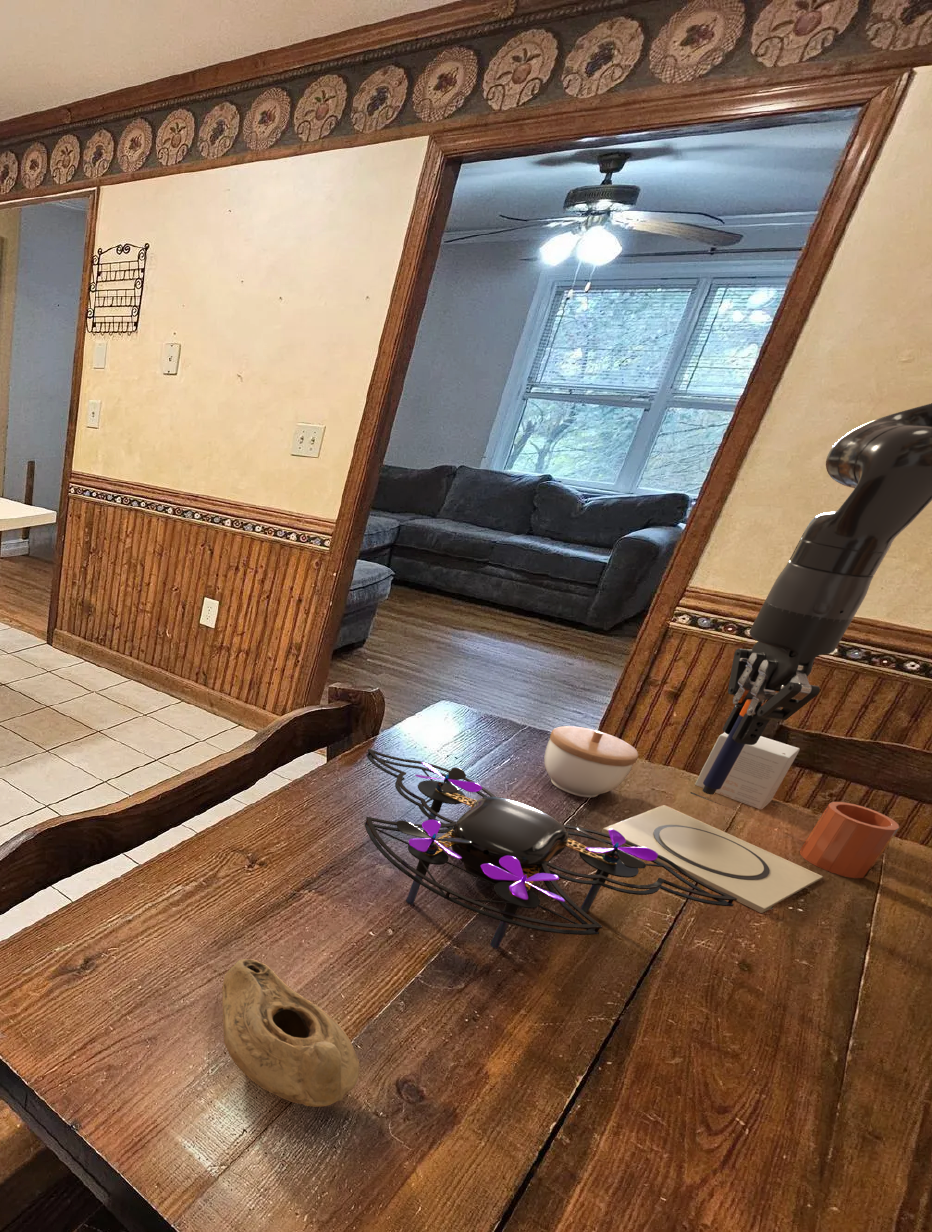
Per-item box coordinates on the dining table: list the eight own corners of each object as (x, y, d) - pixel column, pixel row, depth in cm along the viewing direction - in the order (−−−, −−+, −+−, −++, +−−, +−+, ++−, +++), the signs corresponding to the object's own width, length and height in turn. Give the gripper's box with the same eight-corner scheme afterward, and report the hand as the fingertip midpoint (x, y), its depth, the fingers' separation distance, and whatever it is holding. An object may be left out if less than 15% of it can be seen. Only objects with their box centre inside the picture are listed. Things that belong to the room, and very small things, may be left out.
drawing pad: (661, 809, 115) (664, 803, 114) (820, 881, 101) (824, 875, 100) (600, 832, 108) (603, 826, 108) (761, 913, 94) (765, 907, 93)
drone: (750, 873, 84) (698, 995, 67) (709, 942, 89) (649, 1073, 72) (382, 731, 111) (278, 793, 94) (364, 789, 115) (261, 858, 98)
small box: (766, 810, 116) (802, 748, 112) (754, 821, 113) (791, 757, 109) (700, 785, 122) (732, 725, 117) (687, 795, 119) (719, 734, 114)
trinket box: (581, 769, 125) (605, 717, 120) (635, 806, 115) (663, 751, 111) (517, 768, 124) (539, 715, 120) (566, 805, 114) (591, 749, 110)
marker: (703, 787, 103) (751, 697, 97) (720, 794, 101) (770, 704, 95) (695, 790, 102) (744, 700, 96) (712, 797, 100) (763, 706, 95)
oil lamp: (260, 983, 79) (277, 921, 75) (380, 1107, 67) (407, 1041, 63) (170, 1013, 75) (184, 949, 71) (280, 1151, 63) (304, 1082, 59)
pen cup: (810, 847, 108) (841, 797, 104) (872, 874, 103) (907, 823, 99) (789, 857, 105) (820, 807, 102) (852, 886, 100) (887, 834, 97)
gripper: (890, 630, 84) (806, 770, 91) (813, 594, 95) (744, 721, 103) (805, 618, 85) (729, 757, 93) (740, 585, 97) (677, 710, 105)
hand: (737, 737), depth 98 cm, fingers closed on marker, 2 cm apart
